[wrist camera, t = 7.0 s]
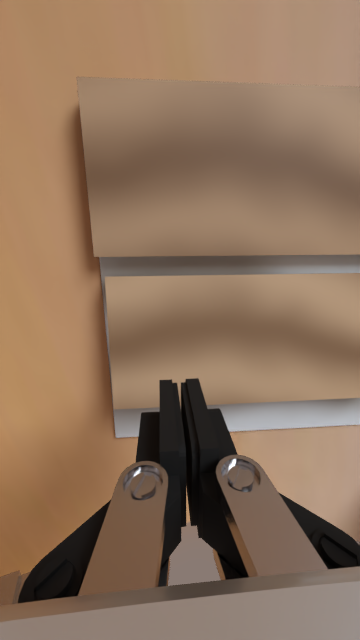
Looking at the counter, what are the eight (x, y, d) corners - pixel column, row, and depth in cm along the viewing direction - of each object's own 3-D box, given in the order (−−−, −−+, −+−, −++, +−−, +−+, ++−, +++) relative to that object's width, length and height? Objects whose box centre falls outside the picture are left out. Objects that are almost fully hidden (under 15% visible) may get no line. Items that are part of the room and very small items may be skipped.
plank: (376, 388, 18) (391, 396, 17) (117, 399, 17) (113, 409, 15) (392, 272, 16) (410, 272, 15) (109, 276, 15) (104, 276, 14)
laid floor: (362, 422, 20) (376, 435, 18) (116, 435, 19) (112, 450, 17) (433, 101, 14) (462, 85, 13) (85, 90, 13) (76, 71, 12)
